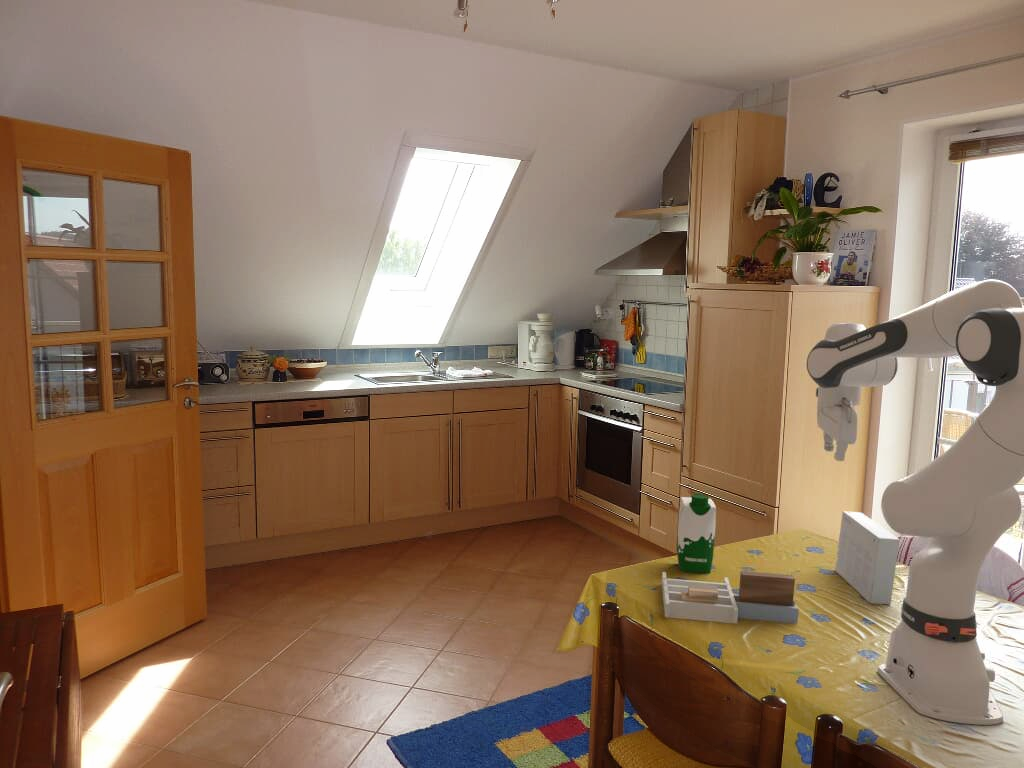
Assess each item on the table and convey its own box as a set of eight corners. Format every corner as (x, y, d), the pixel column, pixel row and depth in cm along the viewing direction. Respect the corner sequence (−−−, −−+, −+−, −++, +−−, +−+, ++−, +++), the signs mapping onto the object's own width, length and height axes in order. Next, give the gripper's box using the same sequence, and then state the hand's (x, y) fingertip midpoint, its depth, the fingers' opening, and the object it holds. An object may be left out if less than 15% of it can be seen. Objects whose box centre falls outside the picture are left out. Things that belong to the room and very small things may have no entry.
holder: (797, 627, 166) (799, 609, 165) (734, 621, 168) (736, 604, 167) (792, 615, 172) (793, 598, 171) (731, 610, 174) (732, 592, 173)
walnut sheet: (791, 618, 168) (795, 578, 167) (738, 613, 170) (741, 574, 168) (789, 614, 170) (793, 575, 169) (737, 610, 172) (740, 570, 170)
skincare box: (893, 605, 179) (900, 539, 177) (869, 604, 179) (876, 538, 177) (855, 570, 200) (861, 510, 198) (834, 570, 200) (839, 510, 198)
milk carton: (677, 576, 192) (682, 497, 189) (674, 563, 201) (678, 487, 198) (714, 578, 191) (719, 500, 189) (708, 565, 200) (714, 489, 197)
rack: (736, 627, 165) (738, 610, 164) (664, 621, 167) (665, 603, 167) (726, 593, 183) (727, 577, 182) (661, 588, 185) (662, 571, 184)
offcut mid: (714, 608, 168) (715, 600, 167) (681, 605, 169) (681, 597, 168) (713, 602, 171) (713, 594, 170) (680, 599, 172) (681, 591, 171)
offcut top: (717, 600, 167) (718, 592, 167) (689, 598, 168) (689, 590, 168) (716, 595, 170) (716, 587, 170) (688, 592, 171) (688, 584, 171)
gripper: (867, 403, 164) (861, 467, 166) (842, 389, 184) (836, 446, 186) (836, 401, 165) (830, 465, 167) (814, 387, 185) (809, 445, 187)
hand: (833, 455), depth 177 cm, fingers open, 8 cm apart
